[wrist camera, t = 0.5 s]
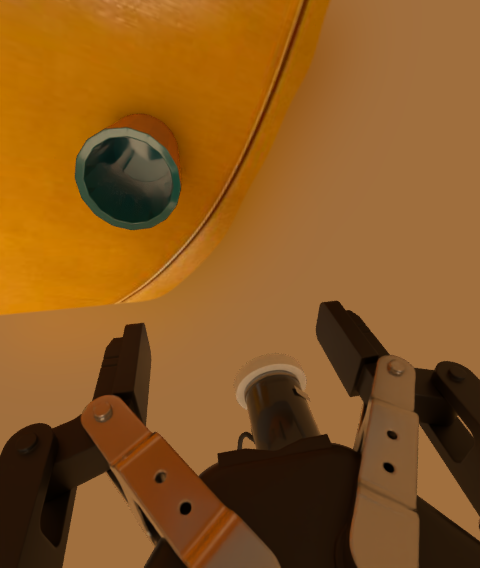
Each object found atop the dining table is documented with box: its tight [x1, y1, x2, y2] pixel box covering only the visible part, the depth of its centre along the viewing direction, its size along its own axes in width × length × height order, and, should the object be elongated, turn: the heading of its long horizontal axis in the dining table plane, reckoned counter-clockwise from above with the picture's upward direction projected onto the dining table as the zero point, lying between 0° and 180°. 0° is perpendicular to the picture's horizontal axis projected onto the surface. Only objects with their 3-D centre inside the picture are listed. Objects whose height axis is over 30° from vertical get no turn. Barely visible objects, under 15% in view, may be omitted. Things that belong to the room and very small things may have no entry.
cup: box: [75, 114, 181, 230], centre depth 23 cm, size 6×6×11 cm
